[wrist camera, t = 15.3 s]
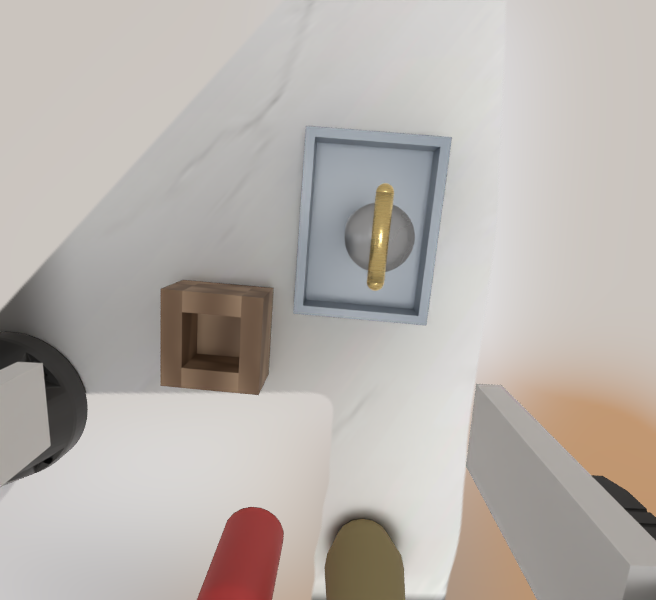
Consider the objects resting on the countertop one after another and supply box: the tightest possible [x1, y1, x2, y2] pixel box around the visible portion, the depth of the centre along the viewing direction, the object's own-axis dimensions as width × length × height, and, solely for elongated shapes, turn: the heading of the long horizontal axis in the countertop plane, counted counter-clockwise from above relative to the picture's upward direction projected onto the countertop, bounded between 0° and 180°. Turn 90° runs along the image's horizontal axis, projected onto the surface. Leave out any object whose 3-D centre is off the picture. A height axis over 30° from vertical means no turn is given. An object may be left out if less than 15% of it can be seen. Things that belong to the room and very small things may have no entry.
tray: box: [293, 126, 452, 325], centre depth 38 cm, size 12×16×4 cm
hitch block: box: [161, 280, 273, 395], centre depth 39 cm, size 9×9×5 cm
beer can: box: [197, 507, 284, 600], centre depth 41 cm, size 7×7×12 cm
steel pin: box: [345, 183, 415, 291], centre depth 31 cm, size 4×6×16 cm, turn 175°
